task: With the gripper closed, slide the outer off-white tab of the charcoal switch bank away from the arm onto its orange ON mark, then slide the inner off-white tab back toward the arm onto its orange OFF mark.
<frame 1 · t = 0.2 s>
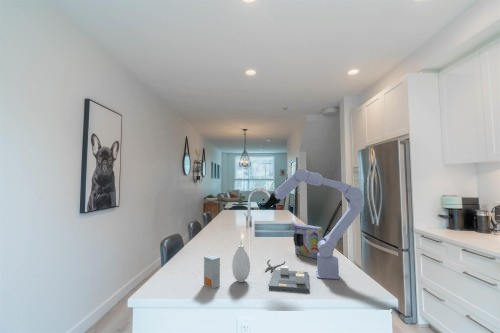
hand: (265, 206, 125), 31 cm above the kitchen island, tool tilted 50°, fingers open, 7 cm apart
far tab: (284, 270, 117), point 3 cm above the kitchen island, slide at 7.0 cm
pliers: (275, 267, 133), on the kitchen island
switch bank: (289, 281, 112), on the kitchen island
near tab: (300, 278, 107), point 3 cm above the kitchen island, slide at 0.0 cm
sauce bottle: (241, 281, 113), on the kitchen island
skincare box: (211, 286, 108), on the kitchen island
cake pan box: (308, 256, 151), on the kitchen island
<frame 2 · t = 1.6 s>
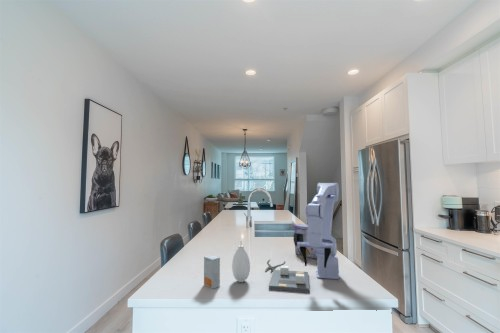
hand: (315, 266, 106), 9 cm above the kitchen island, tool pointing down, fingers open, 7 cm apart
nothing on the kitchen island moved.
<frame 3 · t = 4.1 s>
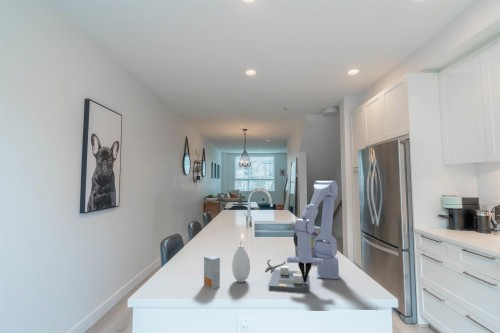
hand: (305, 281, 107), 2 cm above the kitchen island, tool pointing down, fingers closed
near tab: (297, 278, 107), point 3 cm above the kitchen island, slide at 1.1 cm, touching gripper
everything else where it was.
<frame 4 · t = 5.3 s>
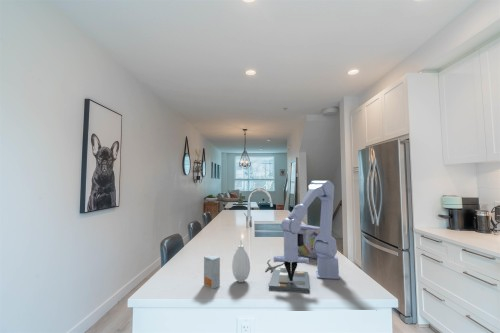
hand: (291, 280, 108), 2 cm above the kitchen island, tool pointing down, fingers closed
near tab: (283, 277, 108), point 3 cm above the kitchen island, slide at 6.8 cm, touching gripper
everything else where it was.
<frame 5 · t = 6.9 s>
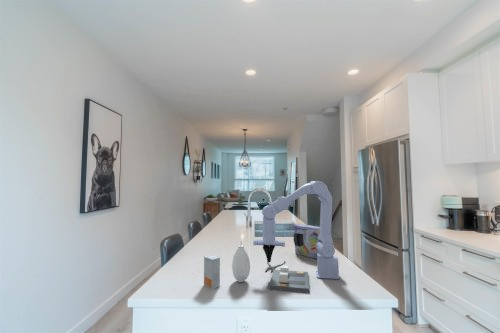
hand: (269, 261, 119), 7 cm above the kitchen island, tool pointing down, fingers closed
near tab: (283, 277, 108), point 3 cm above the kitchen island, slide at 6.8 cm
everything else where it was.
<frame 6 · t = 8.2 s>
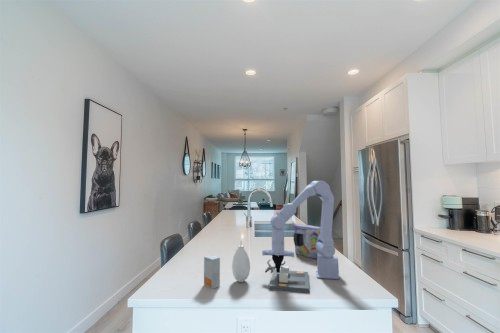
hand: (278, 271, 118), 2 cm above the kitchen island, tool pointing down, fingers closed
far tab: (285, 270, 117), point 3 cm above the kitchen island, slide at 6.8 cm, touching gripper
everything else where it was.
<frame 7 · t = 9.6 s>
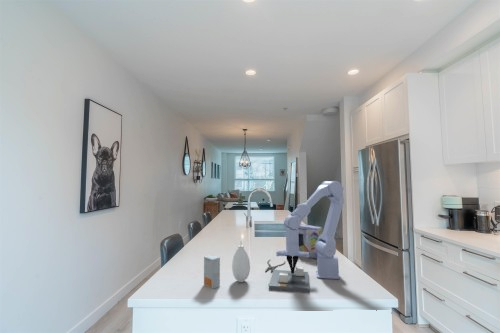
hand: (292, 272, 116), 2 cm above the kitchen island, tool pointing down, fingers closed
far tab: (299, 271, 116), point 3 cm above the kitchen island, slide at 0.2 cm, touching gripper
everything else where it was.
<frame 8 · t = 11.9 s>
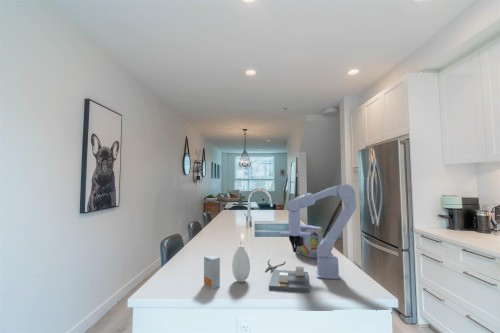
hand: (294, 251, 125), 9 cm above the kitchen island, tool pointing down, fingers closed
far tab: (299, 271, 116), point 3 cm above the kitchen island, slide at 0.2 cm
everything else where it was.
at the end: near tab slide at 6.8 cm; far tab slide at 0.2 cm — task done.
